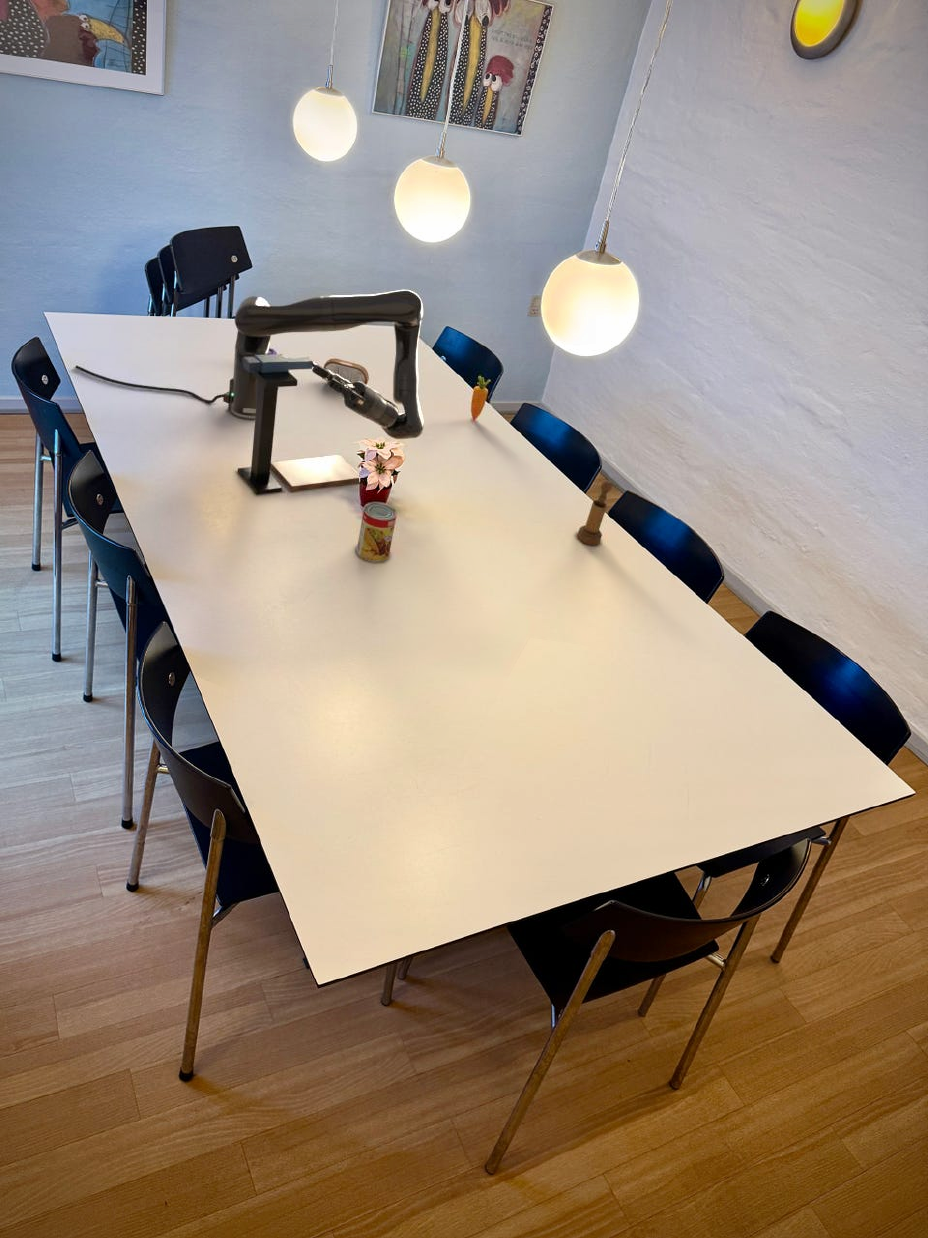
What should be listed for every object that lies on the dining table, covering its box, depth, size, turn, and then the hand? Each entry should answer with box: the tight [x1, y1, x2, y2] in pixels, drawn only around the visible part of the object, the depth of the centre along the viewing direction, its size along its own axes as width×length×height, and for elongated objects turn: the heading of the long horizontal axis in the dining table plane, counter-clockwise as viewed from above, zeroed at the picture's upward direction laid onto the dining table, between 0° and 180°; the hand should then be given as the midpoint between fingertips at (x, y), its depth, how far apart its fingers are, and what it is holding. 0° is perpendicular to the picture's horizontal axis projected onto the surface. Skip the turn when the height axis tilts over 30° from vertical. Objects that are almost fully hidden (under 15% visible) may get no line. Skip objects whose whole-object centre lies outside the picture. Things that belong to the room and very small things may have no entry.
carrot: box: [470, 375, 491, 421], centre depth 287 cm, size 5×5×15 cm
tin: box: [322, 357, 370, 385], centre depth 288 cm, size 15×3×8 cm, turn 84°
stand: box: [237, 357, 299, 496], centre depth 221 cm, size 8×14×31 cm, turn 36°
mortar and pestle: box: [576, 480, 613, 546], centre depth 238 cm, size 7×6×18 cm
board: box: [270, 454, 360, 492], centre depth 239 cm, size 21×13×2 cm, turn 126°
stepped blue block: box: [243, 353, 320, 373], centre depth 213 cm, size 18×4×3 cm, turn 126°
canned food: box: [356, 501, 398, 563], centre depth 211 cm, size 8×8×12 cm
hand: (322, 374), depth 222 cm, fingers open, 8 cm apart
